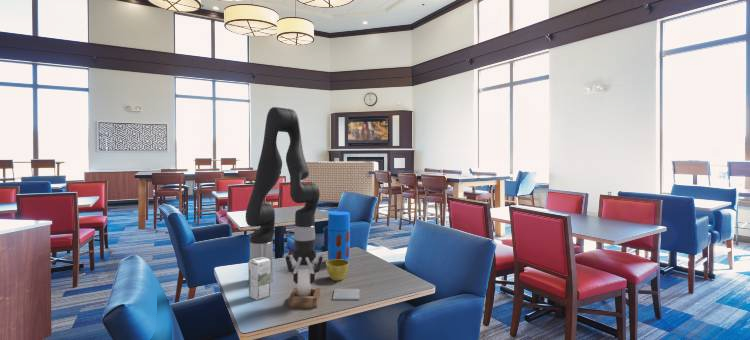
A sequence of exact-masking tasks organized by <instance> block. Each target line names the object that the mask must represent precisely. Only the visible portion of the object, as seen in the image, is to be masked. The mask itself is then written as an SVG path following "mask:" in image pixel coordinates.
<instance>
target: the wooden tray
mask: <svg viewBox="0 0 750 340" xmlns="http://www.w3.org/2000/svg"><path fill="white" fill-rule="evenodd" d="M320 299H321V288H320V287H311V296H297V287H294V288H293V289H292V291H291V293H290V294H289V296H288V308H289V309H290V308H297V309H298V308H304V309H305V308H307V309H308V308H309V309H310V308H314V309H315V308H317V309H318V305H319V302H320Z"/></svg>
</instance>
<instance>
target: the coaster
mask: <svg viewBox="0 0 750 340" xmlns="http://www.w3.org/2000/svg"><path fill="white" fill-rule="evenodd" d="M360 290H361V289H360V288H334V289H333V291H334V292H333V296H332V300H333V301H360V293H361V292H360Z"/></svg>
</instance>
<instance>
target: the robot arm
mask: <svg viewBox="0 0 750 340" xmlns="http://www.w3.org/2000/svg"><path fill="white" fill-rule="evenodd" d="M279 132H280V133H281V132H282V133H287V135H288V137H289V145H288V148H287V152H286V153H285V154H286V155H285V162H286V167H287V171H288V173H289V181H290V182H289V185H290V188H289V195H290V198H291V200H292V201H293V203H295V204H304V203H305V204H304V206H303V207H302V208H298V209H297V210H296V211H295V212H294V213H295V214H294V215H295V216H294V219H295V220H294V222H295V223H294V233H293V234H294V235H293V236H294V237H293V241H294V242H293V244H294V245H293V246H294V248H293V254H286V256H285V262H286V266H287V267H286V268H287V270H288V272H289V273H292V275H293V282H294V283H295V285H297V270H298V265H308V266H309V269H310V271H311V274H310V284H311V285H312V284H314V282H315V280H316V273H317V274H318V273H319V272H320V270H321V266H322V263H323V261H324V260H323V259H324V255H322V254H321V255H320V254H317V253H316V230H315V229H316V227H315V217H316V216H315V215H316V211H317V208H318V207H317V206H318V203H319V199H320V195H321V194H320V188H319V186H318V185H317V184H316V183H314V182H309V183H302V181H303V180H305V179H307V178H308V177H309V175H310V172H309V168H308V166H307V162H306V158H305V155H304V151H303V149H304V148H303V142H302V137H301V135H302V134H301V129H300V121H299V117H298V114H297V112H296V111H295V110H294V109H293V108H285V107H284V108H283V107H278V106H272V107H271V108H270V109H269V110H268V112H267V115H266V120H265V127H264V135H263V142H262V147H261V148H262V149H261V152H260V156H259V160H258V163H257V164H258V165H257V169H256V174H255V180H254V184H253V187H252V192H251V195H250V198H249V201H248V203H247V205H246V211H245V222H246V224H247V225H248V226H249V227H252V228H253V227H259V228H258V229H257V230H256V231H255V232H253V233H251V234H250V236H249V260H252V259H256V258H260V257H265V258H267V259H269V260H271V264H270V283H272V282H273V281H274V279H273V276H274V273H273V272H274V270H273V269H274V268H273V265H274V262H273V260H274V259H273V257H274V256H273V255H274V251H273V249H274V248H273V247H274V243H273V242H274V240H273V237H274V235H275V223H276V222H275V221H276V213H275V208H274V206H273V205H272V203H269V202H266V203H264V200H265V198H266V196H267V195H268V194H269V193H270V192H271V190H272V189H273V188H274V187H276V184H277V183H278V181H279V180H280V177H281V172H282V169H283V160H282V157H281V154H280V151H279V149H278V145H277V138H278V133H279ZM293 259H294V260H295V262H296V264H295V267H293V262H292V261H293ZM315 259H316V262H318V263H317V264H316V265H317V266H316V267H315V266H314V260H315ZM311 263H312V264H311Z"/></svg>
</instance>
